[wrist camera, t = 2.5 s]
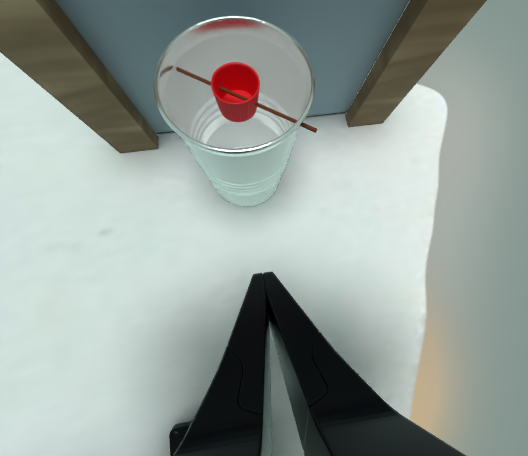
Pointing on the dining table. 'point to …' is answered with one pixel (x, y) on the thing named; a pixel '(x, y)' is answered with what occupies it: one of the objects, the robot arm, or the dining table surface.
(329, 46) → the door
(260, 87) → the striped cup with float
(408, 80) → the door frame
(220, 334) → the dining table surface
